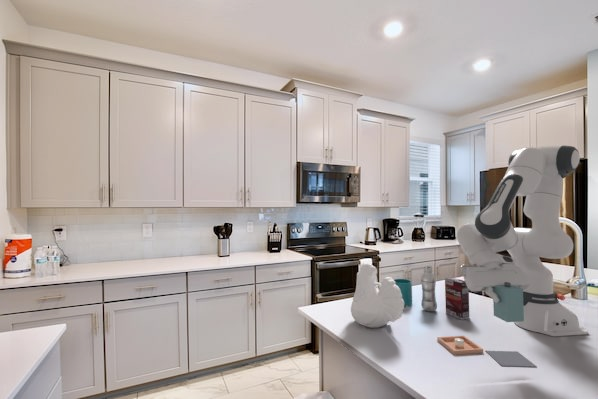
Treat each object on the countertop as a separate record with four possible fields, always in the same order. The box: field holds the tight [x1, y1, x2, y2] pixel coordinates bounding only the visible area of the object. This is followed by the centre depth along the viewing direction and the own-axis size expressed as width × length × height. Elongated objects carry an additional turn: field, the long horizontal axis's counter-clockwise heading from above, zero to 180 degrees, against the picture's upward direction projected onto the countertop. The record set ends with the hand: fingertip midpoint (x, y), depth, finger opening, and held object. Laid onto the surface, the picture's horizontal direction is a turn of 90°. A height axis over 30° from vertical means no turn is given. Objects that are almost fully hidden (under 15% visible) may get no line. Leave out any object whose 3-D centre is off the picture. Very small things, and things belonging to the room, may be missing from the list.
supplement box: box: [444, 276, 470, 321], centre depth 130 cm, size 9×5×16 cm, turn 23°
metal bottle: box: [420, 266, 438, 312], centre depth 137 cm, size 6×7×20 cm
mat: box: [485, 350, 538, 368], centre depth 93 cm, size 10×9×1 cm
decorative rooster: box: [350, 262, 405, 329], centre depth 120 cm, size 25×16×25 cm, turn 17°
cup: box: [393, 278, 413, 307], centre depth 147 cm, size 9×12×11 cm
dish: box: [436, 335, 484, 356], centre depth 101 cm, size 10×10×3 cm
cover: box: [492, 282, 524, 323], centre depth 93 cm, size 6×6×11 cm
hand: (509, 301), depth 92 cm, fingers closed on cover, 5 cm apart
